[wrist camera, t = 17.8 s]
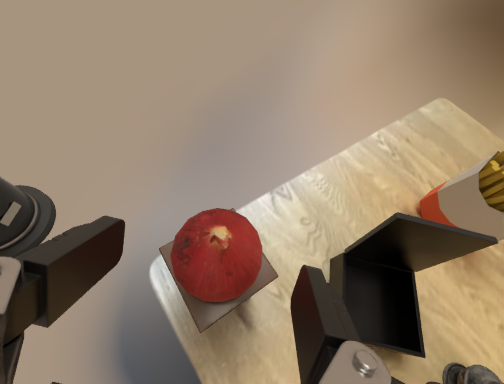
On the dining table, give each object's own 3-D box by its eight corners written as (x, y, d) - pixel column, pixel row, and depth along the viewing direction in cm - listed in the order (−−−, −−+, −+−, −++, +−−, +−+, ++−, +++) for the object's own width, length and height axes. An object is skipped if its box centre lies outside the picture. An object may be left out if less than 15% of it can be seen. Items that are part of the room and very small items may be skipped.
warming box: (401, 353, 33) (425, 358, 29) (327, 335, 33) (341, 337, 29) (394, 275, 39) (414, 270, 35) (330, 258, 38) (343, 252, 34)
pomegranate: (172, 301, 17) (139, 290, 10) (188, 226, 20) (171, 176, 13) (251, 307, 17) (274, 301, 10) (256, 233, 20) (276, 189, 13)
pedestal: (209, 325, 32) (200, 333, 16) (186, 279, 34) (158, 248, 18) (251, 294, 34) (278, 276, 19) (226, 254, 37) (233, 207, 21)
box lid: (499, 243, 24) (496, 237, 25) (398, 217, 24) (397, 212, 25) (416, 272, 34) (415, 267, 34) (344, 253, 34) (344, 249, 34)
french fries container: (457, 253, 42) (600, 215, 26) (409, 207, 45) (510, 150, 30) (468, 239, 44) (609, 195, 28) (421, 196, 47) (522, 136, 31)
